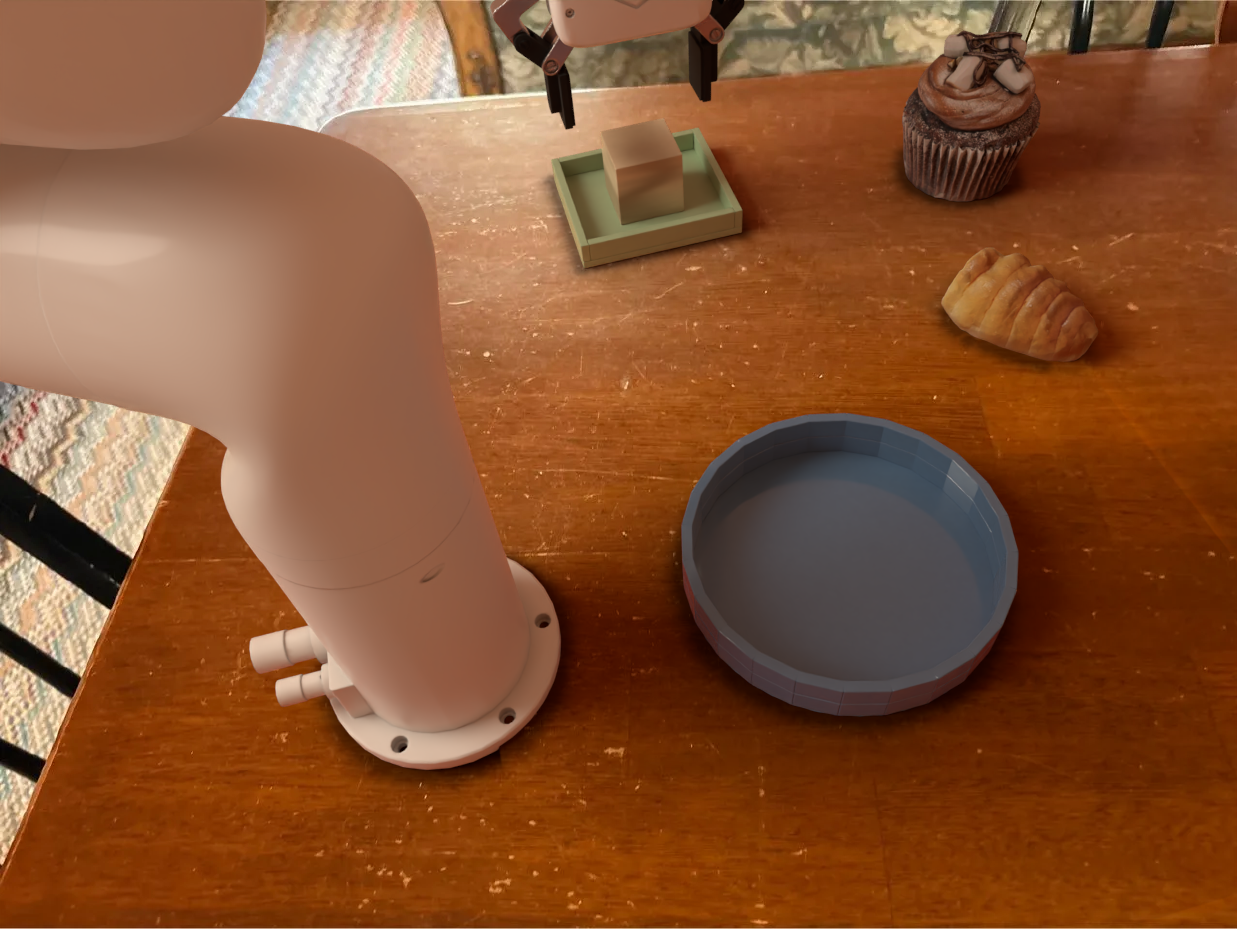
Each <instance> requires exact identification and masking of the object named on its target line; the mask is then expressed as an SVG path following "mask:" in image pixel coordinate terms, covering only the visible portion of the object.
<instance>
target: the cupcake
mask: <svg viewBox="0 0 1237 929" xmlns="http://www.w3.org/2000/svg"><path fill="white" fill-rule="evenodd" d="M1022 37H1023V33H1021V32H1019V31H1018V32H1017V31H990V32H986V33H983V34H977V33H973V32H972V31H968V30H961V31H960V32H958V33H957V34H955V33H954V34H949V35H948V36H947V37H946V38H945V40H944V46H943V53H941V54H940V55H939V56H938V57H937V58H935V60H933V61H932V63H930V65H928V66H927V67H926V68H925V70H923V73H922V74H921V75H920V77H919V78H918V82H917V87H916V88H915V89H914V90H913V91H912V92H911V94H910V95H909V96H908V98H907V100H906V101H905V106H904V107H903V112H902V116H901V117H902V118H901V119H902V120H901V122H902V124H901V125H902V154H903V164H904V171H905V175H906V178H907V180H908V181H909V182H910V183H911V184H912V186H914V187H915V189H918V190H919V191H921V192H922V193H924V194H925V195H928V196H931V197H933V198H936V199H942V200H946V201H949V202H972V201H975V200H982V199H988V198H990V197H992V196H994V195H996V194H997V193H999V192H1002V190H1003V188H1004V187H1005V186H1006V185H1008V184H1009V181H1010V179H1011V176H1012V174H1013V171H1014V170H1015V168H1016V166H1017V164H1018V162H1019V160H1020V159H1021V156H1022V154H1023V153H1024V151H1025V150H1026V148H1027V147H1028V146H1029V143H1030V142H1031V141H1032V139H1033V137H1034V136H1035V134H1036V133H1037V131H1038V129H1039V128H1040V127H1039V126H1040V125H1041V122H1040V119H1041V109H1042V104H1041V101H1040V99H1039V97H1038V95H1037V93H1036V87H1037V84H1036V79H1035V75H1034V72H1033V70H1032V68H1031V66H1030V65H1029V64H1028V62H1027V61H1026V59H1025V58H1024V57H1025V55H1026V52H1027V50H1028V47H1027V46H1028V45H1027V42H1026V41H1025V40H1024V39H1022Z"/></svg>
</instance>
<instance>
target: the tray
mask: <svg viewBox="0 0 1237 929" xmlns="http://www.w3.org/2000/svg"><path fill="white" fill-rule="evenodd" d="M671 133H672V135H673V137H674V139H675V141H676V143H677V145H678V147H679V149H680V151H681V153H682V161H683V190H684V211H682V212H677V213H673V214H669V215H664V216H660V217H655V218H651V219H646V220H642V221H637V222H633V223H629V224H624V225H621V224H620V221H619V219H618V216H617V214H616V211H615V209H614V206H613V203H612V201H611V198H610V196H609V193H608V191H607V188H606V182H605V173H604V164H603V156H602V148H598V149H597V148H596V149H594V150H589V151H584V152H579V153H573V154H570V155H566V156H561V157H556V158H551V159H550V161H551V162H550V163H551V168H552V174H553V180H554V184H555V186H556V190H557V192H558V193H557V194H558V196H559V199H560V201H561V205H562V207H563V211H564V214H565V216H566V219H567V222H568V225H569V229H570V231H571V234H572V238H573V240H574V244H575V246H576V249H577V252H578V256H579V259H580V261H581V263H582V267H583V269H588V268H589V269H590V268H592V267H596V266H603V265H606V264H611V263H616V262H619V261H624V260H628V259H632V258H637V257H641V256H646V255H650V254H654V253H659V252H663V251H667V250H671V249H676V248H681V247H685V246H689V245H693V244H698V243H703V242H706V241H713V240H716V239H720V238H724V237H728V236H734V235H737V234H742V233H743V212H744V211H743V209H742V206H741V204H740V202H739V200H738V199H737V197H736V195H735V193H734V192H733V189H732V188H731V185H730V183H729V182H728V180H727V178H726V177H725V174H724V172H723V170H722V169H721V167H720V165H719V163H718V161H717V159H716V157H715V156H714V153H713V151H712V150H711V148H710V146H709V144H708V142H707V140H706V138H705V137H704V135H703V133H702V131H701V128H700V127H699V126H698V127H693V128H689V129H685V130H680V131H676V132H671Z"/></svg>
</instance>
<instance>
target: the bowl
mask: <svg viewBox="0 0 1237 929" xmlns="http://www.w3.org/2000/svg"><path fill="white" fill-rule="evenodd" d="M680 527H681V528H680V530H681V563H682V581H683V582H682V584H683V590H684V592H685V596H686V598H687V602H688V605H689V607H690V611H691V614H692V617H693V620H694V622H695V624H696V626H697V627H698V629H699V631H701V633H702V635H703V636H704V638H705V640H706V641H707V643H708V644H709V645H710V647H712V650H713V651H714V652H715V654H716V655H717V656H718V657H719V658H720V659H721V660H722V661H723V662H724V663H725V664H726V665H728V667H730V668H731V669H732V670H733V671H734V672H735V673H736V674H738V675H739V676H741V677H742V678H743V679H744V680H745V681H746V682H748V683H749V684H750V685H751V686H753V687H755V688H756V689H759V690H761V691H763V692H765V693H766V694H768V695H769V696H772V697H774V698H776V699H779V700H781V701H782V702H784V703H787V704H789V705H790V706H791V705H792V706H793V707H794V706H795V707H798V708H803V709H806V710H809V711H813V712H817V713H823V714H829V715H833V716H839V717H847V716H848V717H870V716H871V717H872V716H888V715H891V714H894V713H899V712H902V711H903V712H904V711H907V710H910V709H913V708H917V707H920V706H924V705H927V704H929V703H931V702H933V701H934V700H936V699H938V698H939V697H941V696H942V695H944V694H946V693H948V692H949V691H951V690H952V689H954V688H956V687H958V685H960V684H962V683H963V682H965V681H966V679H968V677H969V676H970V675H971V674H972V672H974V670H975V669H976V668H977V667H978V666H979V664H981V662H982V661H983V660H984V659H985V658H986V656H987V655H989V653H990V651H991V650H992V647H993V646H994V644H995V642H996V639H998V636H999V634H1000V632H1001V630H1002V628H1003V626H1004V624H1005V621H1006V618H1007V616H1008V614H1009V612H1010V609H1011V607H1012V604H1013V602H1014V599H1015V596H1016V594H1017V590H1018V581H1019V580H1018V575H1019V557H1020V556H1019V554H1020V553H1019V548H1018V545H1017V542H1016V538H1015V534H1014V531H1013V527H1012V523H1011V519H1010V517H1009V513H1007V511H1006V509H1005V507H1004V505H1003V504H1002V503H1001V501H1000V499H999V498H998V496H997V494H996V493H995V491H994V490H993V488H992V486H991V484H990V483H989V482H988V481H987V480H986V479H985V478H984V477H983V476H982V475H981V474H980V473H979V472H978V471H977V470H976V469H975V468H974V467H973V466H972V465H971V464H970V463H969V462H968V461H967V460H966V459H965V458H964V457H963V456H961V454H959V453H958V452H956V451H954V450H953V449H951V448H950V447H948V446H946V445H945V444H943V443H941V442H940V441H938V440H937V439H935V438H933V437H932V436H930V435H929V434H927V433H925V432H923V431H920V430H918V429H914V428H912V427H909V426H907V425H904V424H901V423H899V422H895V421H893V420H890V419H887V418H881V417H874V416H868V415H863V414H856V413H849V412H836V413H835V412H834V413H813V414H812V413H810V414H809V413H808V414H803V415H799V416H794V417H791V418H787V419H783V420H777V421H774V422H771V423H768V424H766V425H764V426H762V427H760V428H758V429H756V430H754V431H752V432H750V433H747V434H746V435H744V436H742V437H740V438H738V439H737V440H735V441H734V442H733V443H732V444H731V445H730V446H728V447H727V448H726V449H725V450H724V451H723V452H721V453H720V454H719V455H718V456H716V458H715V459H713V460H712V461H711V462H710V463H709V464H708V466H707V468H706V469H705V471H704V472H703V473H702V475H701V476H700V478H699V480H698V481H697V483H696V484H695V486H694V487H693V488H692V490H691V492H690V495H689V498H688V501H687V505H686V508H685V511H684V514H683V519H682V521H681V526H680Z"/></svg>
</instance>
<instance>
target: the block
mask: <svg viewBox="0 0 1237 929" xmlns="http://www.w3.org/2000/svg"><path fill="white" fill-rule="evenodd" d="M672 133H673V132H672V131H671V129H670V127H669V125H668V124H667V121H666V119H665V118H664V117H661V118H657V119H653V120H652V119H651V120H647V121H642V122H638V123H632V124H629V125H624V126H620V127H615V128H610V129H606V130H602V131H600V132H599V137H600V144H601V149H602V156H603V164H604V173H605V182H606V188H607V191H608V193H609V196H610V198H611V201H612V203H613V206H614V209H615V211H616V214H617V216H618V219H619V221H620V224H621V225H624V224H629V223H633V222H637V221H642V220H646V219H651V218H655V217H660V216H664V215H669V214H673V213H677V212H682V211H684V190H683V161H682V153H681V151H680V149H679V147H678V145H677V143H676V141H675V139H674V137H673V135H672Z"/></svg>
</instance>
